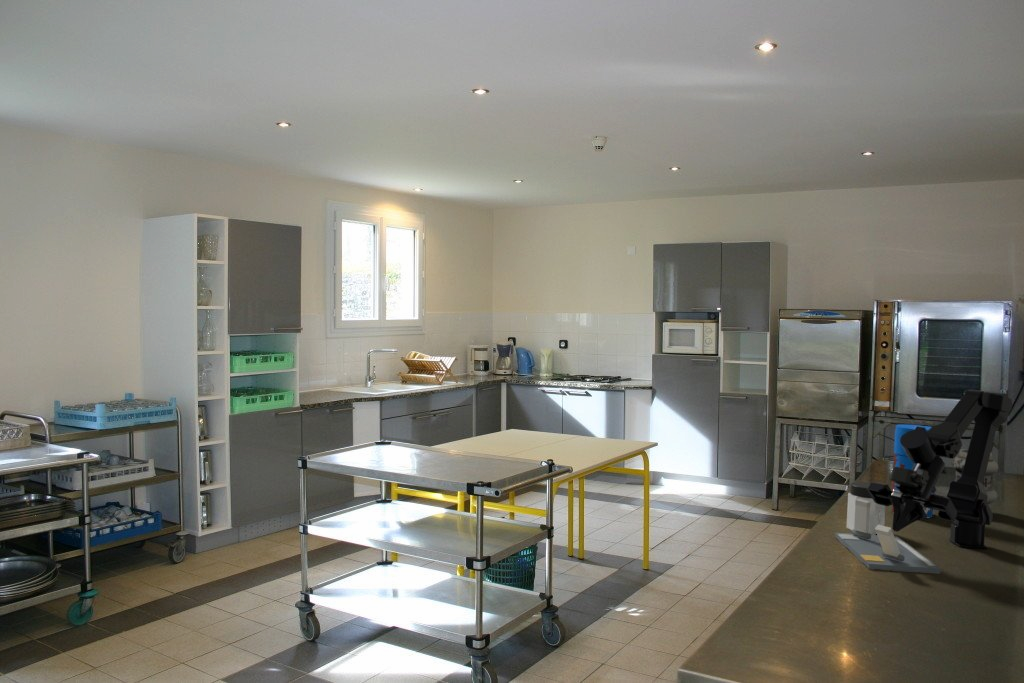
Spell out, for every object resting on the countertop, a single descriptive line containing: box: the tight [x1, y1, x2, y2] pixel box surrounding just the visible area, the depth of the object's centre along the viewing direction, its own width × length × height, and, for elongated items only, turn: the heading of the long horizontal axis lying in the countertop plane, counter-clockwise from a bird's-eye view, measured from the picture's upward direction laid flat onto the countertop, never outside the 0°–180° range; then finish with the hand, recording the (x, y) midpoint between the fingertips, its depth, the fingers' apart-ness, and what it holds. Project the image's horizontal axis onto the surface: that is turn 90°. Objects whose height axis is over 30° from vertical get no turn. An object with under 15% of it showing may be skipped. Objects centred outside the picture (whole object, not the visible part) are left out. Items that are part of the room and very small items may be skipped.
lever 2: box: [875, 525, 904, 562], centre depth 176 cm, size 2×4×9 cm
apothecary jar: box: [951, 448, 999, 505], centre depth 229 cm, size 12×12×18 cm
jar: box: [846, 481, 886, 535], centre depth 206 cm, size 9×8×12 cm
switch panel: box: [834, 532, 941, 575], centre depth 185 cm, size 15×25×1 cm, turn 174°
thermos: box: [891, 424, 935, 517], centre depth 225 cm, size 11×11×25 cm
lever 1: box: [851, 499, 871, 539], centre depth 194 cm, size 2×4×9 cm, turn 34°
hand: (894, 530), depth 177 cm, fingers closed
